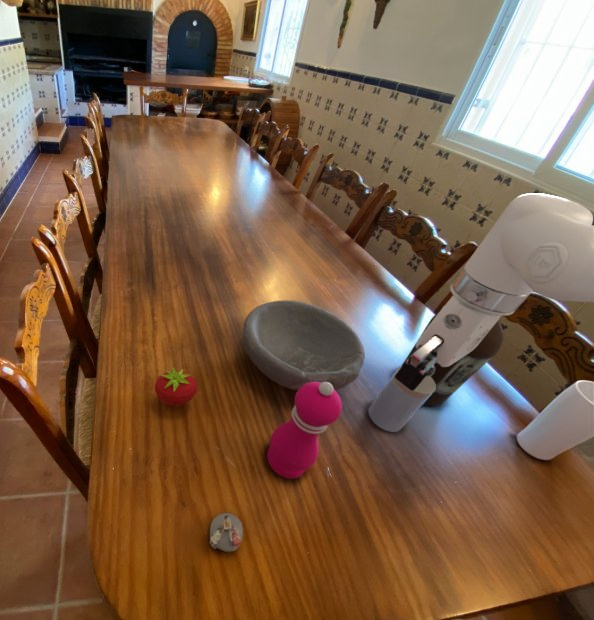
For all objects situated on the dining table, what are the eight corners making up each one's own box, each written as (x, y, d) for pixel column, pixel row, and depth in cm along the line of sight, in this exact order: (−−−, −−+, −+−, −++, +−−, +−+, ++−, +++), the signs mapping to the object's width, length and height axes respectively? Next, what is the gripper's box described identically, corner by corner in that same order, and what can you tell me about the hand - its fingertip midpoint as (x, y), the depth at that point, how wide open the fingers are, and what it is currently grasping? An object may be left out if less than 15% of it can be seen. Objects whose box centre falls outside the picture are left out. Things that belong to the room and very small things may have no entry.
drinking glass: (557, 447, 65) (631, 397, 55) (555, 473, 61) (635, 424, 51) (512, 423, 68) (575, 372, 58) (507, 446, 64) (574, 395, 54)
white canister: (409, 423, 66) (458, 368, 56) (390, 437, 64) (437, 382, 54) (380, 399, 70) (422, 344, 60) (361, 411, 68) (401, 355, 58)
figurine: (228, 512, 52) (235, 494, 49) (248, 541, 50) (258, 524, 46) (199, 533, 50) (205, 516, 46) (219, 565, 47) (227, 550, 43)
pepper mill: (262, 437, 62) (296, 359, 49) (304, 444, 62) (349, 367, 49) (265, 478, 57) (304, 402, 44) (311, 486, 56) (364, 412, 43)
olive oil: (380, 371, 76) (446, 274, 60) (420, 364, 78) (494, 269, 62) (417, 414, 68) (505, 315, 52) (460, 404, 71) (557, 308, 55)
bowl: (342, 343, 82) (359, 310, 76) (351, 426, 65) (375, 392, 59) (242, 319, 86) (251, 286, 80) (227, 391, 69) (237, 356, 63)
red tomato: (195, 418, 64) (203, 383, 58) (154, 419, 63) (156, 384, 57) (191, 391, 69) (198, 356, 62) (152, 392, 68) (154, 356, 61)
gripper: (486, 326, 42) (412, 411, 53) (547, 288, 49) (471, 369, 60) (425, 291, 47) (368, 375, 58) (488, 261, 54) (427, 341, 65)
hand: (421, 372), depth 59 cm, fingers open, 9 cm apart
